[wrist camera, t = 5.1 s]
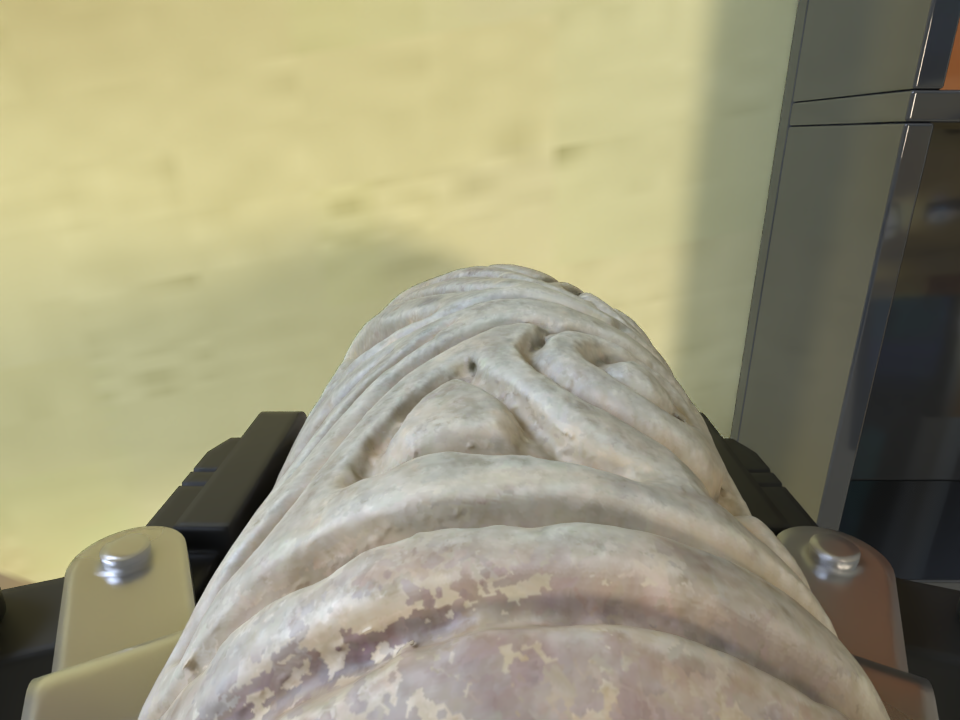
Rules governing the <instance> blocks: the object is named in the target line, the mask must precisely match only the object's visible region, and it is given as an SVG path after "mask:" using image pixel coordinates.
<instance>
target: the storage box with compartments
mask: <svg viewBox="0 0 960 720" xmlns="http://www.w3.org/2000/svg"><path fill="white" fill-rule="evenodd" d="M730 439H734V440H736V441H738V442H739V443H741V444H743V445H744V446H746V447H748V448H749V449H751V450H752V451H754V452H756V453H757V454H758V455H759V457H760V458H761V459H762V460H763V461H764V462H765V464H766V465H767V466H768V467H769V468H770V472H771V473H774V474H775V475H776V477H777V478H778V479H779V480H780V481H781V483H782V487H786V488H787V490H788V491H789V492H790V493H791V494H792V496H793V497H794V498H795V499H796V500H797V501H798V503H799V504H800V505H801V506H802V507H803V509H804V510H805V511H806V512H807V513H808V514H809V516H810V517H811V518H812V519H813V520H814V522H815V523H816V524H817V525H818V526H819V527H823V528H828V529H832V530H836V531H839V532H842V533H845V534H848V535H850V536H853V537H855V538H857V539H859V540H861V541H863V542H865V543H866V544H868V545H870V546H871V547H873V548H874V549H876V550H877V551H878V552H879V553H881V554H882V555H883V556H884V557H885V558H886V559H887V560H888V562H889V563H890V564H891V566H892V568H893V570H894V573H895V577H897V578H901V579H905V580H909V581H914V582H919V583H924V584H929V585H934V586H939V587H944V588H949V589H954V590H959V591H960V0H799V1H798V8H797V14H796V21H795V27H794V33H793V40H792V46H791V53H790V59H789V65H788V72H787V78H786V85H785V91H784V98H783V104H782V110H781V117H780V123H779V130H778V136H777V142H776V149H775V155H774V162H773V168H772V174H771V181H770V187H769V194H768V200H767V207H766V213H765V219H764V226H763V232H762V239H761V245H760V251H759V258H758V264H757V271H756V277H755V283H754V290H753V296H752V303H751V309H750V315H749V322H748V328H747V335H746V341H745V348H744V354H743V360H742V367H741V373H740V380H739V386H738V392H737V399H736V405H735V412H734V418H733V424H732V431H731V437H730Z"/></svg>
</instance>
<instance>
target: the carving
mask: <svg viewBox="0 0 960 720" xmlns="http://www.w3.org/2000/svg"><path fill="white" fill-rule="evenodd" d="M138 720H890V718H889V716H888V713H887V711H886V709H885V707H884V704H883V702H882V700H881V698H880V697H879V695H878V693H877V691H876V689H875V687H874V686H873V684H872V682H871V681H870V679H869V677H868V676H867V674H866V673H865V671H864V670H863V669H862V667H861V666H860V664H859V663H858V662H857V660H856V659H855V658H854V657H853V655H852V654H851V653H850V652H849V651H848V650H847V648H846V647H845V646H844V645H843V644H842V642H841V641H840V640H839V639H838V637H837V634H836V631H835V629H834V627H833V625H832V623H831V621H830V619H829V617H828V616H827V614H826V613H825V611H824V609H823V608H822V606H821V605H820V603H819V601H818V600H817V598H816V597H815V596H814V594H813V593H812V592H811V590H810V587H809V584H808V582H807V580H806V578H805V576H804V574H803V572H802V570H801V569H800V567H799V566H798V564H797V562H796V559H795V558H794V557H793V556H792V555H791V554H790V552H789V551H788V550H787V549H786V547H785V546H784V545H783V544H782V542H781V541H780V540H779V539H778V538H777V537H776V536H775V535H774V533H773V532H772V531H771V530H770V529H769V528H768V527H767V526H766V525H765V524H764V523H763V522H762V521H760V520H759V519H758V518H756V517H753V516H752V515H751V513H750V511H749V509H748V507H747V505H746V502H745V501H744V500H743V498H742V497H741V495H740V493H739V491H738V489H737V487H736V485H735V484H734V482H733V480H732V478H731V477H730V475H729V473H728V471H727V469H726V467H725V465H724V463H723V461H722V459H721V457H720V455H719V453H718V451H717V449H716V447H715V444H714V442H713V439H712V437H711V434H710V432H709V430H708V427H707V425H706V423H705V421H704V419H703V417H702V416H701V414H700V413H699V411H698V410H697V408H696V407H695V406H694V405H693V403H692V402H691V401H690V399H689V398H688V396H687V394H686V393H685V391H684V390H683V388H682V387H681V385H680V384H679V383H678V382H677V380H676V379H675V378H674V376H673V373H672V371H671V369H670V367H669V366H668V364H667V363H666V361H665V360H664V359H663V357H662V356H661V355H660V354H659V352H658V351H657V350H656V349H655V348H654V347H653V345H652V343H651V342H650V340H649V339H648V337H647V335H646V334H645V333H644V332H643V330H642V329H641V328H640V327H639V326H638V325H637V324H636V323H635V322H634V321H633V320H632V319H631V318H630V317H628V316H627V315H625V314H624V313H622V312H621V311H619V310H617V309H613V308H612V307H610V306H609V305H608V304H606V303H605V302H604V301H602V300H601V299H599V298H598V297H596V296H594V295H592V294H591V293H584V292H583V291H581V290H580V289H579V288H577V287H575V286H573V285H571V284H569V283H564V282H558V281H557V280H556V279H554V278H552V277H551V276H549V275H547V274H545V273H542V272H539V271H537V270H534V269H530V268H526V267H522V266H517V265H511V264H496V265H490V266H476V267H469V268H463V269H459V270H455V271H452V272H449V273H447V274H444V275H441V276H438V277H435V278H433V279H430V280H427V281H424V282H422V283H419V284H417V285H415V286H413V287H411V288H409V289H407V290H405V291H404V292H402V293H401V294H399V295H398V296H397V297H396V298H394V299H393V300H392V301H391V302H390V303H389V304H388V305H387V306H386V307H385V308H384V309H383V310H382V311H381V312H380V313H379V314H378V315H376V316H375V317H373V318H372V319H371V320H369V321H368V322H367V323H366V324H365V325H364V326H363V327H362V329H361V330H360V331H359V333H358V334H357V335H356V337H355V338H354V340H353V342H352V344H351V346H350V347H349V350H348V352H347V354H346V356H345V358H344V360H343V362H342V363H341V364H340V366H339V367H338V369H337V370H336V372H335V374H334V375H333V377H332V378H331V380H330V381H329V383H328V385H327V386H326V388H325V390H324V391H323V393H322V395H321V397H320V399H319V401H318V402H317V403H316V404H315V406H314V407H313V409H312V410H311V412H310V414H309V415H308V417H307V419H306V421H305V423H304V425H303V427H302V429H301V431H300V432H299V434H298V436H297V438H296V440H295V442H294V444H293V446H292V448H291V450H290V452H289V454H288V457H287V459H286V461H285V463H284V465H283V467H282V469H281V471H280V473H279V476H278V478H277V481H276V483H275V485H274V488H273V490H272V491H271V492H270V494H269V495H268V497H267V498H266V499H265V500H264V502H263V503H262V504H261V506H260V507H259V508H258V509H257V511H256V512H255V514H254V515H253V516H252V518H251V519H250V521H249V522H248V524H247V525H246V526H245V528H244V529H243V531H242V532H241V534H240V535H239V537H238V538H237V540H236V541H235V542H234V544H233V545H232V547H231V548H230V550H229V551H228V553H227V554H226V556H225V558H224V559H223V561H222V562H221V564H220V565H219V567H218V568H217V570H216V571H215V573H214V575H213V576H212V578H211V580H210V581H209V583H208V585H207V587H206V589H205V591H204V592H203V594H202V596H201V598H200V600H199V601H198V603H197V605H196V607H195V609H194V611H193V613H192V615H191V617H190V619H189V621H188V623H187V625H186V627H185V629H184V631H183V633H182V635H181V637H180V639H179V641H178V643H177V644H176V646H175V648H174V650H173V652H172V653H171V655H170V657H169V659H168V661H167V662H166V664H165V666H164V668H163V669H162V671H161V673H160V675H159V676H158V678H157V680H156V682H155V684H154V686H153V688H152V690H151V692H150V694H149V696H148V698H147V699H146V701H145V703H144V706H143V708H142V710H141V713H140V715H139V717H138Z"/></svg>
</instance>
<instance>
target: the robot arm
mask: <svg viewBox="0 0 960 720" xmlns="http://www.w3.org/2000/svg"><path fill="white" fill-rule="evenodd" d="M699 413H700V414H701V416H702V417H703V419H704V421H705V423H706V425H707V427H708V430H709V432H710V434H711V437H712V439H713V442H714V444H715V447H716V449H717V451H718V453H719V455H720V457H721V459H722V461H723V463H724V465H725V467H726V469H727V471H728V473H729V475H730V477H731V478H732V480H733V482H734V484H735V485H736V487H737V489H738V491H739V493H740V495H741V497H742V498H743V500H744V501H745V502H746V505H747V507H748V509H749V511H750V513H751V515H752V516H753V517H756V518H758V519H759V520H760V521H762V522H763V523H764V524H765V525H766V526H767V527H768V528H769V529H770V530H771V531H772V532H773V533H774V535H775V536H776V537H777V538H778V539H779V540H780V541H781V542H782V544H783V545H784V546H785V547H786V549H787V550H788V551H789V552H790V554H791V555H792V556H793V557H794V558H795V559H796V562H797V564H798V566H799V567H800V569H801V570H802V572H803V574H804V576H805V578H806V580H807V582H808V584H809V587H810V590H811V592H812V593H813V594H814V596H815V597H816V598H817V600H818V601H819V603H820V605H821V606H822V608H823V609H824V611H825V613H826V614H827V616H828V617H829V619H830V621H831V623H832V625H833V627H834V629H835V631H836V634H837V637H838V639H839V640H840V641H841V642H842V644H843V645H844V646H845V647H846V648H847V650H848V651H849V652H850V653H851V654H852V655H853V657H854V658H855V659H856V660H857V662H858V663H859V664H860V666H861V667H862V669H863V670H864V671H865V673H866V674H867V676H868V677H869V679H870V681H871V682H872V684H873V686H874V687H875V689H876V691H877V693H878V695H879V697H880V698H881V700H882V702H883V704H884V707H885V709H886V711H887V713H888V716H889V718H890V720H960V591H959V590H954V589H949V588H944V587H939V586H934V585H929V584H924V583H919V582H914V581H909V580H905V579H901V578H897V577H895V573H894V570H893V568H892V566H891V564H890V563H889V562H888V560H887V559H886V558H885V557H884V556H883V555H882V554H881V553H879V552H878V551H877V550H876V549H874V548H873V547H871V546H870V545H868V544H866V543H865V542H863V541H861V540H859V539H857V538H855V537H853V536H850V535H848V534H845V533H842V532H839V531H836V530H832V529H828V528H823V527H819V526H818V525H817V524H816V523H815V522H814V520H813V519H812V518H811V517H810V516H809V514H808V513H807V512H806V511H805V510H804V509H803V507H802V506H801V505H800V504H799V503H798V501H797V500H796V499H795V498H794V497H793V496H792V494H791V493H790V492H789V491H788V490H787V488H786V487H782V483H781V481H780V480H779V479H778V478H777V477H776V475H775V474H774V473H771V472H770V468H769V467H768V466H767V465H766V464H765V462H764V461H763V460H762V459H761V458H760V457H759V455H758V454H757V453H756V452H754V451H752V450H751V449H749V448H748V447H746V446H744V445H743V444H741V443H739V442H738V441H736V440H734V439H723V438H722V437H721V435H720V434H719V433H718V431H717V430H716V429H715V428H714V426H713V425H712V424H711V422H710V421H709V420H708V419H707V417H706V416H705V415H704V414H703V413H701V412H699ZM306 419H307V417H306V414H305V413H304V412H261V413H260V414H259V415H258V416H257V418H256V419H255V420H254V422H253V423H252V424H251V425H250V427H249V428H248V429H247V431H246V432H245V433H244V435H243V436H242V437H241V438H230V439H228V440H227V441H225V442H223V443H222V444H220V445H218V446H217V447H215V448H213V449H212V450H210V451H208V452H207V453H206V455H205V456H204V457H203V458H202V459H201V461H200V462H199V463H198V464H197V465H196V467H195V468H194V472H190V474H189V475H188V476H187V477H186V478H185V480H184V481H183V482H182V486H179V487H178V488H177V489H176V490H175V492H174V493H173V494H172V495H171V496H170V498H169V499H168V500H167V501H166V502H165V504H164V505H163V506H162V507H161V508H160V510H159V511H158V512H157V513H156V514H155V516H154V517H153V518H152V519H151V520H150V522H149V523H148V524H147V525H146V526H145V527H137V528H132V529H128V530H124V531H121V532H118V533H115V534H112V535H110V536H107V537H105V538H103V539H101V540H99V541H97V542H95V543H94V544H92V545H90V546H89V547H87V548H86V549H84V550H83V551H82V552H81V553H79V554H78V555H77V556H76V557H75V558H74V559H73V561H72V562H71V563H70V564H69V566H68V568H67V570H66V573H65V577H62V578H58V579H54V580H49V581H44V582H39V583H34V584H29V585H24V586H19V587H14V588H9V589H4V590H1V588H0V720H138V717H139V715H140V713H141V710H142V708H143V706H144V703H145V701H146V699H147V698H148V696H149V694H150V692H151V690H152V688H153V686H154V684H155V682H156V680H157V678H158V676H159V675H160V673H161V671H162V669H163V668H164V666H165V664H166V662H167V661H168V659H169V657H170V655H171V653H172V652H173V650H174V648H175V646H176V644H177V643H178V641H179V639H180V637H181V635H182V633H183V631H184V629H185V627H186V625H187V623H188V621H189V619H190V617H191V615H192V613H193V611H194V609H195V607H196V605H197V603H198V601H199V600H200V598H201V596H202V594H203V592H204V591H205V589H206V587H207V585H208V583H209V581H210V580H211V578H212V576H213V575H214V573H215V571H216V570H217V568H218V567H219V565H220V564H221V562H222V561H223V559H224V558H225V556H226V554H227V553H228V551H229V550H230V548H231V547H232V545H233V544H234V542H235V541H236V540H237V538H238V537H239V535H240V534H241V532H242V531H243V529H244V528H245V526H246V525H247V524H248V522H249V521H250V519H251V518H252V516H253V515H254V514H255V512H256V511H257V509H258V508H259V507H260V506H261V504H262V503H263V502H264V500H265V499H266V498H267V497H268V495H269V494H270V492H271V491H272V490H273V488H274V485H275V483H276V481H277V478H278V476H279V473H280V471H281V469H282V467H283V465H284V463H285V461H286V459H287V457H288V454H289V452H290V450H291V448H292V446H293V444H294V442H295V440H296V438H297V436H298V434H299V432H300V431H301V429H302V427H303V425H304V423H305V421H306Z"/></svg>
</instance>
